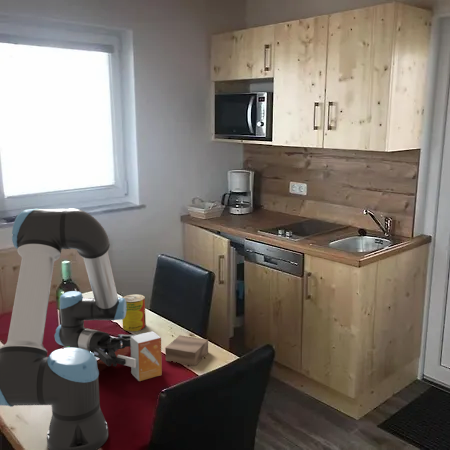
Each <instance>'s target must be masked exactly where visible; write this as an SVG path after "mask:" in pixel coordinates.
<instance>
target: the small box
mask: <svg viewBox="0 0 450 450" xmlns="http://www.w3.org/2000/svg"><path fill="white" fill-rule="evenodd" d="M134 335H135V336H131V337H130V345H131V346H130V357H131V358H135V359H136V367H135V368H133V367H130V368H131V369H130V370H131V371H130V373H131V374H132V376H133V377H134V379H136V380H137V381H138V382H141V381H145V380H148V379H152V378H156V377H159V376H162V373H163V372H162V371H163V370H162V369H163V367H162V366H163V365H162V361H163V360H162V337H161V336H159V334H157V333H156V332H154V331H153V330H151V331H148V332H143V333H139V334H134Z"/></svg>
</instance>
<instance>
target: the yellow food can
mask: <svg viewBox="0 0 450 450" xmlns="http://www.w3.org/2000/svg"><path fill="white" fill-rule="evenodd" d="M145 297H146V296H145V295H143V294H138V293H133V294H126V295H123V296H122V297H121V298H124V299H125V300H126V316H125V318H124V319H122V320H121V321H122V329H123V330H124V331H127V332H139V331H142V330H144V329H146V326H147V324H146V323H147V322H146V298H145Z"/></svg>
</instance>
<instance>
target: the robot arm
mask: <svg viewBox="0 0 450 450" xmlns="http://www.w3.org/2000/svg"><path fill="white" fill-rule="evenodd" d="M11 234H12V237H11V240H12V241H11V242H12V244H13V246H14V248H15V249H17V254H18V255H19V256H20V258H21V262H20V267H19V272H18V279H17V283H16V290H15V296H14V301H13V307H12V311H11V312H12V313H11V317H10V324H9V329H8V334H7V335H8V336H7V341H6V343H5V344H3V345H2V346H1V347H0V406H5V407H6V406H8V407H11V408H12V407H14V406H16V407H17V406H51V412H52V415H51V419H50V423H49V427H48V430H47V433H46V445H47V448H48V450H98V449H100V448H101V447H102V446H103V445H104V444H105V443H106V442H107V440H108V439H109V426H108V422H107V421H106V418H105V416H104V414H103V411H102V409H101V404H100V401H101V400H100V383H99V375H100V371H99V369H98V361H97V359H99V360H100V361H101V362H103V363H104V364H105V365H106V366H107V367H111V366H112V367H117V365H120V366H127V367H130V368H131V367H133V368H135V367H136V359H135V358H131V356H126V355H122V354H116V352H117V351H118V350H122V349H123V350H124V349H126V348H127V347H130V348H131V345H130V337H131V336H135V335H136V334H123V333H119V334H117V337H112V336H111V335H110V334H109V333H108V332H106V331H105V332H104V331H101V330H96V329H90V328H86V327H85V326H84V325H85V321H122V319H124V318H125V316H126V300H125V299H124V298H122V297H120V296H118V293H117V288H116V282H115V278H114V274H113V269H112V264H111V261H110V256H109V250H110V247H111V245H110V240H109V236H108V234H107V231H106V230H105V228H104V227H103V225H102V224H101V223H100V222H99V221H98V219H96V218H95V217H94V216H92V215H91V214H90V213H88V212H86V211H85V210H82V209H79V208H39V207H38V208H33V209H32V208H31V209H24V210H22V211H21V212H19V213H18V215H17V216H16V217H15V219H14V222H13V224H12V231H11ZM62 250H76V251H77V255H79V256H80V257H81V258H82V259H83V263H84V266H85V271H86V274H87V277H88V281H89V284H90V288H91V292H92V296H93V297H86V298H85V297H84V296H83V293H82V292H81V291H76V290H71V291H70V290H69V291H65V292H64V293H62V294H61V295H60V297H59V314H60V324H59V325H58V326H57V327H56V329H55V333H54V340H55V342H56V344H58V345H60V346H63V347H64V348H58V349H55V350H53V351H51V353H49V355H48V350H47V349H46V348H45V347H44V344H43V343H44V335H45V328H46V319H47V313H48V308H49V307H48V306H49V299H50V292H51V286H52V278H53V271H54V265H55V262H56V261H57V260H59V259H60V258H61V255H62ZM65 346H70V347H65ZM90 351H91V352H92V353H90Z"/></svg>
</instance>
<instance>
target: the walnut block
mask: <svg viewBox="0 0 450 450" xmlns="http://www.w3.org/2000/svg"><path fill="white" fill-rule="evenodd" d="M164 349H165V353H164V354H165V361H166V362H171V361H173V362H172V363H176V362H177V363H178V364H181V365H182V364H183V365H187V366H193V367H196V366H197V365H198V364H199V363H200V362H201V360H203V358H205V357H206V355H207V354H208V353H209V339H205V338H200V337H192V336H186V335H181V334H179V335H178V336H177V337H175V338H174V340H173V341H171V342H170V343H169V344H168V345H167V346H166V347H165V348H164ZM177 363H176V364H177Z"/></svg>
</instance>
